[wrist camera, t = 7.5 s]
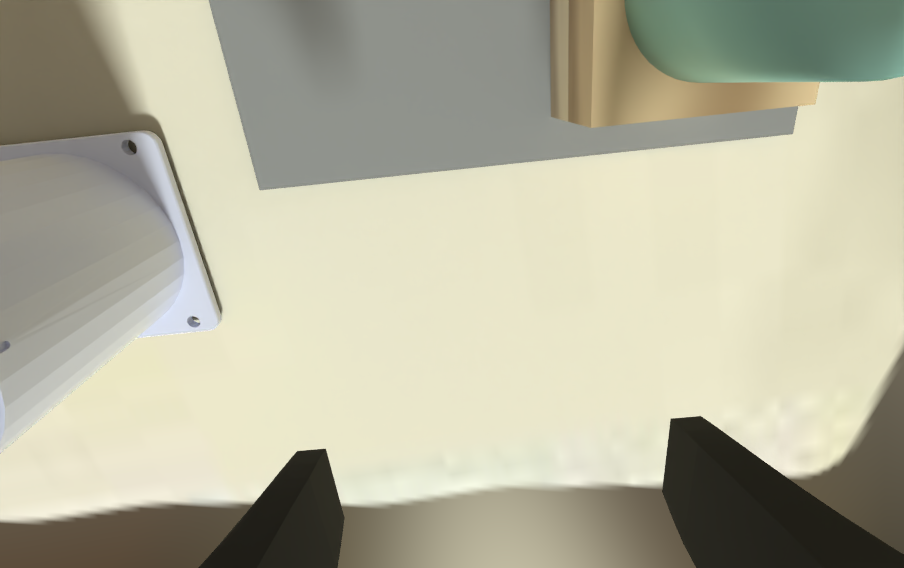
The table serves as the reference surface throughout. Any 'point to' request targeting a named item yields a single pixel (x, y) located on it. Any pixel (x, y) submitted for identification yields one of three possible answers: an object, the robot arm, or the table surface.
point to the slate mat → (418, 90)
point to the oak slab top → (648, 78)
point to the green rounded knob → (770, 39)
